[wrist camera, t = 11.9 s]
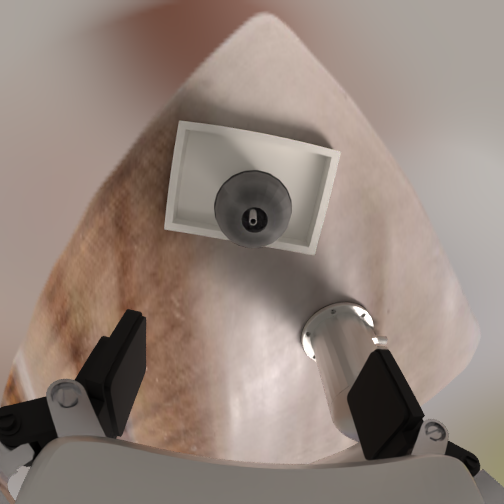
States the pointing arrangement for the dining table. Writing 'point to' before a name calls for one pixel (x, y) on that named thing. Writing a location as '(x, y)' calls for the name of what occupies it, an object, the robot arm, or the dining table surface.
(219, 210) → the beverage cup
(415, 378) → the dining table surface
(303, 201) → the tray
